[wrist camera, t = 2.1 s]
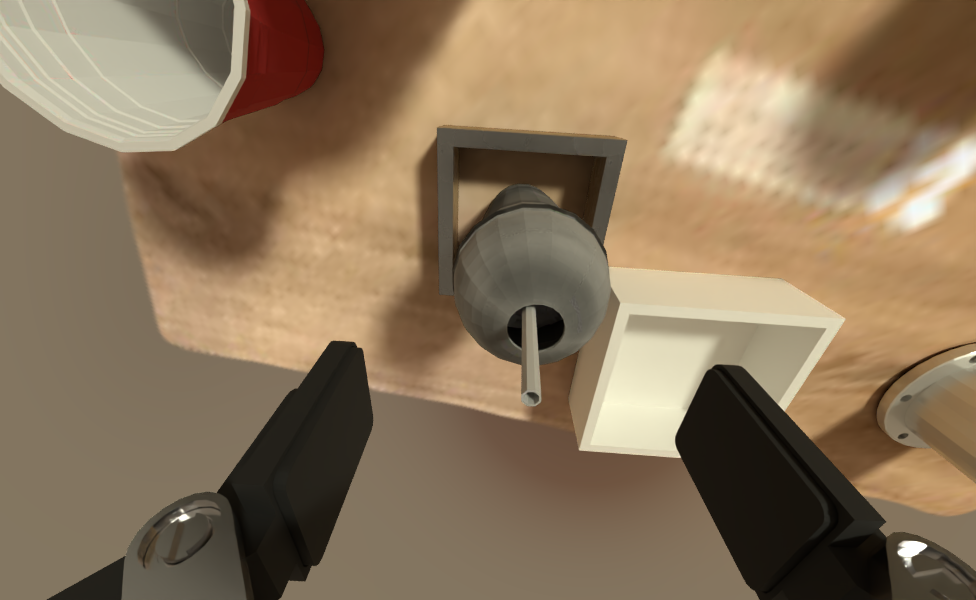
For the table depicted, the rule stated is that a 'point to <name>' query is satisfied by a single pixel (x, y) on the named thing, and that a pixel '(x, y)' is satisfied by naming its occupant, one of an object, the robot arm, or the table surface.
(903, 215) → the table surface
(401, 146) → the table surface
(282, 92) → the plastic cup
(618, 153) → the holder
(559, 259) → the beverage cup
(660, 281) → the bin
